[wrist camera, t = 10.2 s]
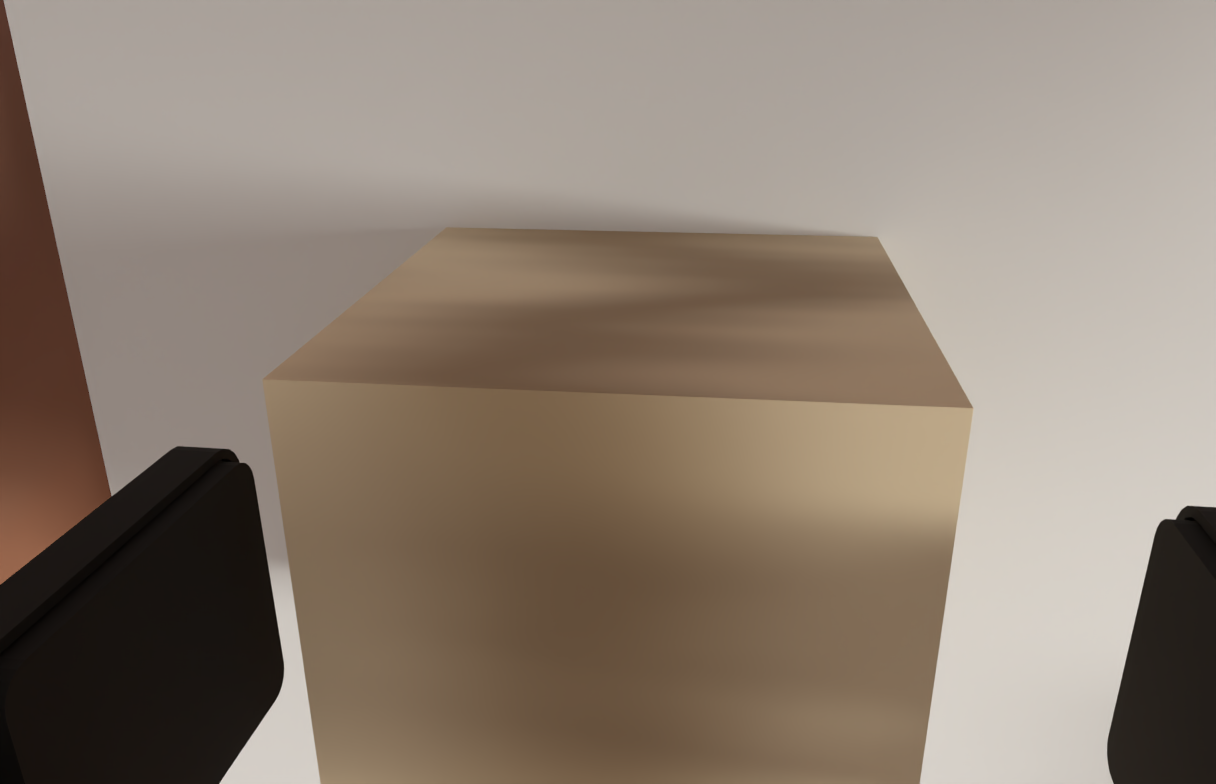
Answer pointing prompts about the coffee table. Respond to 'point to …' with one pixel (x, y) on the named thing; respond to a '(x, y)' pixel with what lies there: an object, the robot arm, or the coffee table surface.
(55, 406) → the coffee table surface
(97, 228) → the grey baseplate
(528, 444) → the maple block
